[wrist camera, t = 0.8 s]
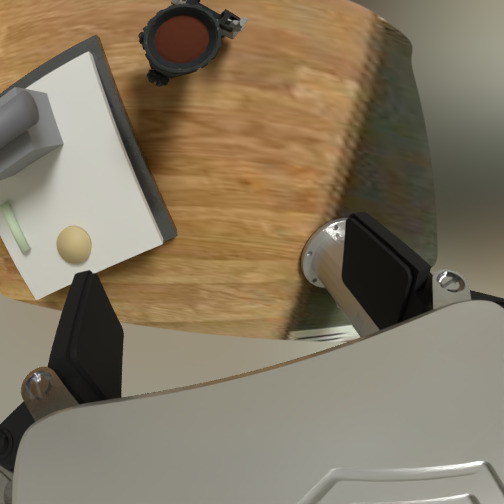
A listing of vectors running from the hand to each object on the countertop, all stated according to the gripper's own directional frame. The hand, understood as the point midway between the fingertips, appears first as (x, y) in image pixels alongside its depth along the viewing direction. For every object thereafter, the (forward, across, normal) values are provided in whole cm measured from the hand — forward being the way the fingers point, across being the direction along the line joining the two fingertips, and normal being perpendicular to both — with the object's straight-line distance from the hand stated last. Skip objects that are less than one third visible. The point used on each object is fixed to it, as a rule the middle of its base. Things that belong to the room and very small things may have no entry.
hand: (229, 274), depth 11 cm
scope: (+27, -1, -11) cm, 29 cm away
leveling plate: (+23, +15, 0) cm, 27 cm away
